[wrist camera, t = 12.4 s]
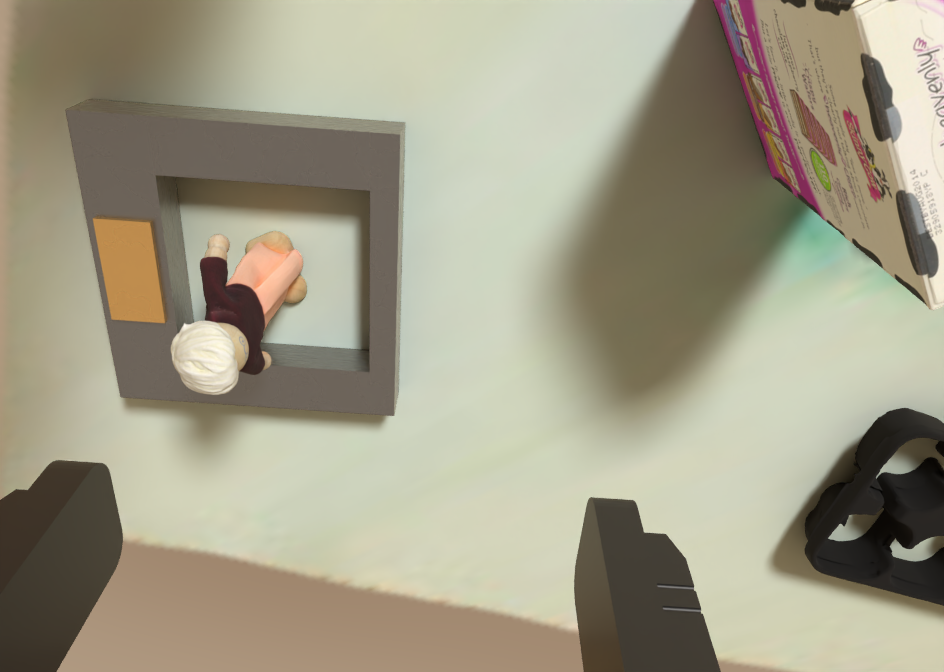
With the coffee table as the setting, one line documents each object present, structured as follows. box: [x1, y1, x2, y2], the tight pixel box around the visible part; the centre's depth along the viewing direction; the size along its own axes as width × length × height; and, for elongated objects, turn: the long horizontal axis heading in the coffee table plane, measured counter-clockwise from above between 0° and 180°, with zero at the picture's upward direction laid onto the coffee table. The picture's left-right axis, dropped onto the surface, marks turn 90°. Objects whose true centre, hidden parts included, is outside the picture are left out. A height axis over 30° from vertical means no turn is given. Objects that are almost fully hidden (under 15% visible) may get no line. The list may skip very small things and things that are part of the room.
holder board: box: [66, 99, 405, 416], centre depth 42 cm, size 17×16×3 cm
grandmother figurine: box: [171, 231, 307, 395], centre depth 37 cm, size 8×4×13 cm, turn 21°
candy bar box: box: [713, 0, 944, 310], centre depth 30 cm, size 11×5×16 cm, turn 28°
